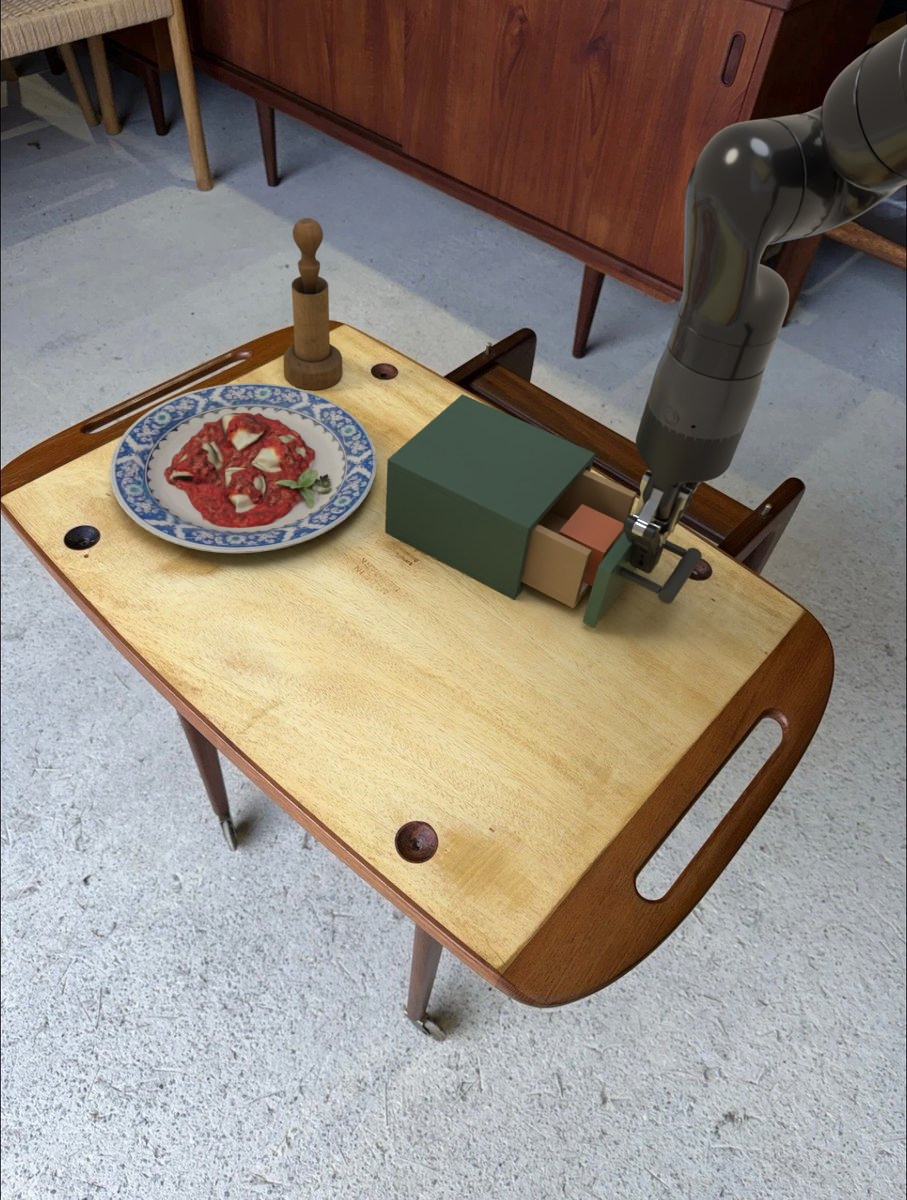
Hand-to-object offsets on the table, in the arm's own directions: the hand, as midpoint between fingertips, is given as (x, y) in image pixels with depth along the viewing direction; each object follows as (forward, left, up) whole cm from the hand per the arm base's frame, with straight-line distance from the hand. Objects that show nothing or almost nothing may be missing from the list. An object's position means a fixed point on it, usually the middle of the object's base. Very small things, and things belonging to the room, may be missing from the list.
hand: (642, 564), depth 80 cm
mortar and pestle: (+45, -10, -5) cm, 46 cm away
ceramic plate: (+39, +8, -5) cm, 40 cm away
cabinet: (+16, 0, -5) cm, 17 cm away
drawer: (+5, 0, -4) cm, 7 cm away
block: (+5, 0, -3) cm, 6 cm away
